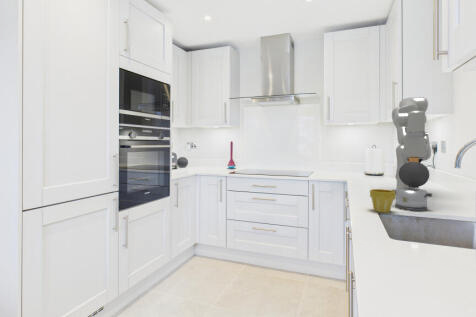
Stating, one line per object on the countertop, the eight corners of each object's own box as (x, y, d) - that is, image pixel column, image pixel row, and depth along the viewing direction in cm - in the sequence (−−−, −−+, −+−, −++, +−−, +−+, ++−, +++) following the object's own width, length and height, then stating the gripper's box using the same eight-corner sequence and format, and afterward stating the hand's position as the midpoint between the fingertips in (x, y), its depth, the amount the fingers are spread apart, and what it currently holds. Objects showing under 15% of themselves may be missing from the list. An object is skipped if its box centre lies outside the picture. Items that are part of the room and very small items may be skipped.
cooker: (394, 203, 143) (395, 186, 142) (433, 208, 132) (433, 189, 131) (388, 207, 132) (388, 189, 132) (429, 213, 121) (430, 193, 121)
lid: (398, 186, 140) (399, 186, 141) (428, 189, 131) (429, 188, 132) (398, 157, 138) (399, 157, 138) (429, 158, 129) (429, 158, 130)
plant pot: (388, 208, 130) (388, 188, 130) (399, 214, 120) (399, 192, 120) (366, 208, 131) (366, 188, 131) (374, 213, 121) (375, 192, 121)
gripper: (434, 135, 133) (433, 172, 134) (400, 136, 143) (399, 170, 144) (432, 134, 128) (431, 173, 129) (397, 135, 138) (396, 171, 138)
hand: (414, 171), depth 136 cm, fingers closed
